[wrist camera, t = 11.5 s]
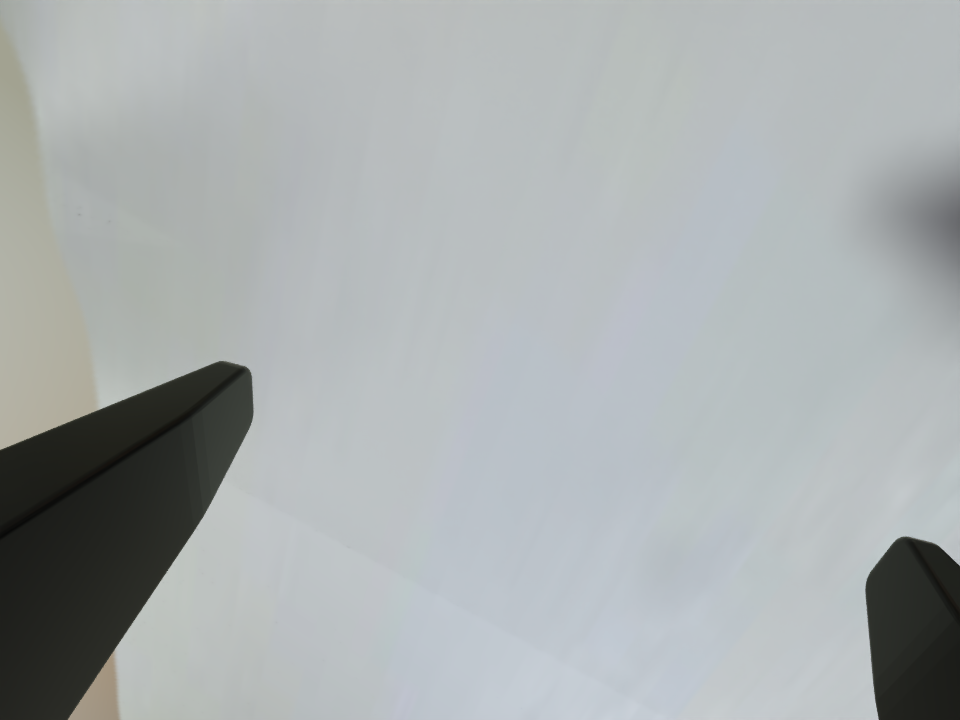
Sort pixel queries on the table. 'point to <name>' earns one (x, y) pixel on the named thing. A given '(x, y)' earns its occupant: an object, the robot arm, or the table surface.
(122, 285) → the table surface
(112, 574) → the robot arm
